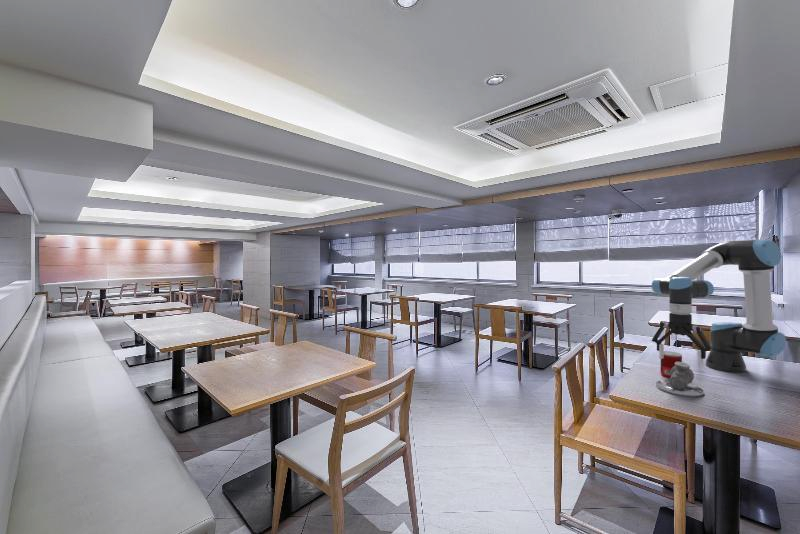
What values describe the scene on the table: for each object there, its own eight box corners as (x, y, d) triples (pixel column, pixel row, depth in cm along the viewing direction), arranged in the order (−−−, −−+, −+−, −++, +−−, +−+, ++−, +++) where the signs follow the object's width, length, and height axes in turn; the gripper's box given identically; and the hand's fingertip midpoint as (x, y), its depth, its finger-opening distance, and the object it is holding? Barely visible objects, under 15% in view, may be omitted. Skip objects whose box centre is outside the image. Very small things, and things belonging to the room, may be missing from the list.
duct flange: (663, 380, 162) (663, 376, 162) (708, 390, 149) (708, 387, 149) (649, 388, 152) (649, 384, 152) (696, 400, 139) (696, 396, 139)
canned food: (685, 379, 162) (685, 356, 162) (665, 378, 164) (666, 355, 164) (675, 373, 170) (676, 351, 169) (657, 372, 171) (657, 350, 171)
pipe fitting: (670, 378, 158) (672, 357, 156) (693, 385, 152) (695, 363, 150) (664, 388, 150) (666, 366, 148) (688, 396, 144) (690, 372, 142)
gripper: (643, 310, 157) (643, 357, 158) (716, 318, 137) (715, 371, 138) (649, 308, 162) (650, 353, 163) (721, 315, 141) (721, 367, 142)
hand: (680, 362), depth 150 cm, fingers open, 13 cm apart
